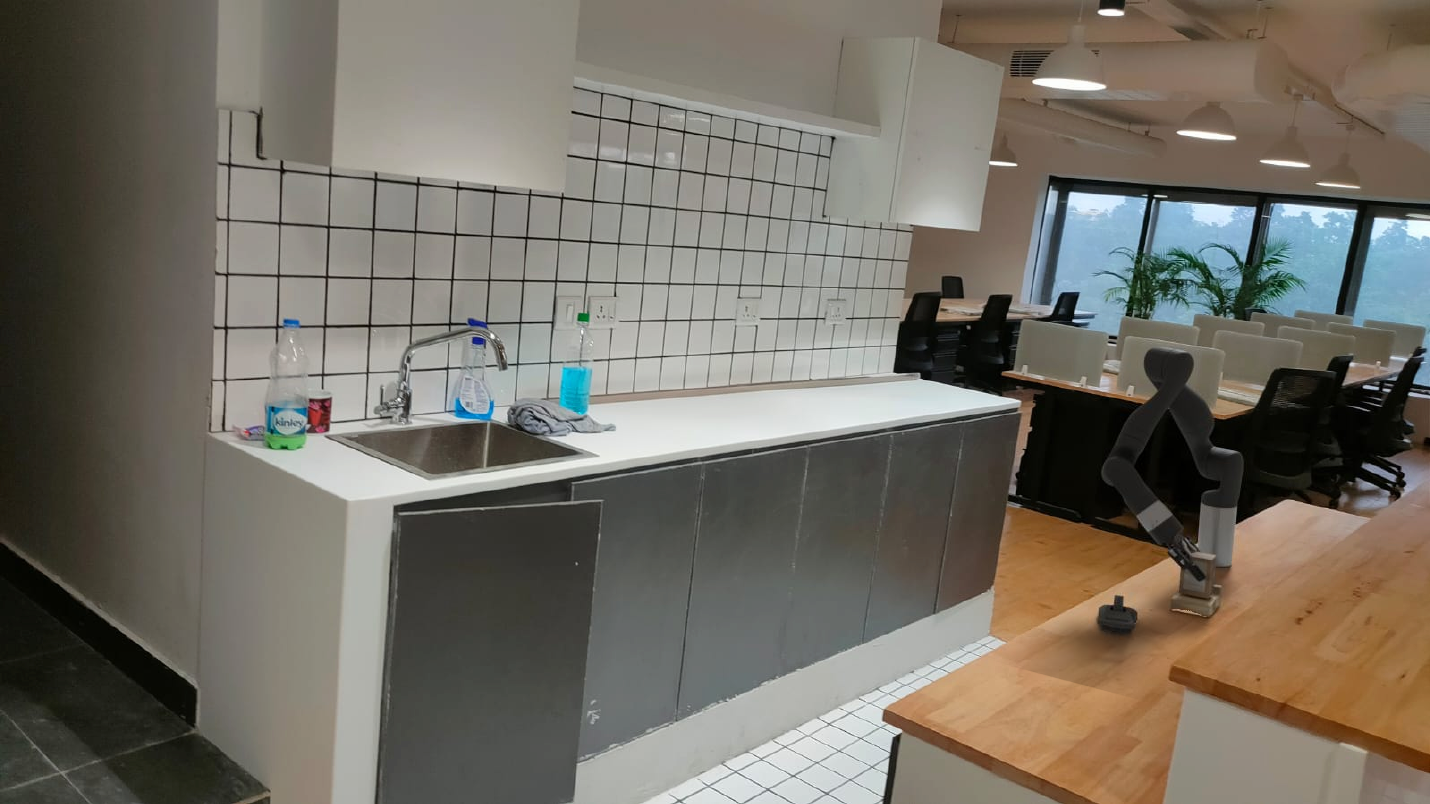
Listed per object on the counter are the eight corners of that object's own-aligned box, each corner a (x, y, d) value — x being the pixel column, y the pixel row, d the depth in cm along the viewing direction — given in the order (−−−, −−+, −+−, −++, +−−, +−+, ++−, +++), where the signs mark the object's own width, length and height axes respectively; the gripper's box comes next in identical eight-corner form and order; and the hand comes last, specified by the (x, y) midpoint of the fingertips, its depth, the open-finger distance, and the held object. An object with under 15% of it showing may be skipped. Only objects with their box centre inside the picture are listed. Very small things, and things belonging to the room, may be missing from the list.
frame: (1183, 587, 274) (1187, 549, 273) (1213, 593, 270) (1216, 555, 268) (1178, 592, 270) (1181, 554, 269) (1208, 598, 266) (1211, 560, 264)
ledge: (1182, 597, 278) (1184, 578, 277) (1220, 604, 273) (1221, 585, 272) (1170, 610, 269) (1171, 591, 268) (1208, 618, 263) (1210, 598, 263)
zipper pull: (1095, 620, 244) (1100, 586, 267) (1093, 647, 245) (1099, 611, 268) (1137, 625, 241) (1139, 590, 264) (1135, 653, 242) (1137, 616, 265)
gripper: (1163, 520, 266) (1211, 576, 261) (1178, 508, 277) (1224, 561, 272) (1139, 536, 270) (1186, 592, 265) (1155, 524, 281) (1200, 577, 276)
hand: (1205, 576), depth 268 cm, fingers closed on frame, 5 cm apart
